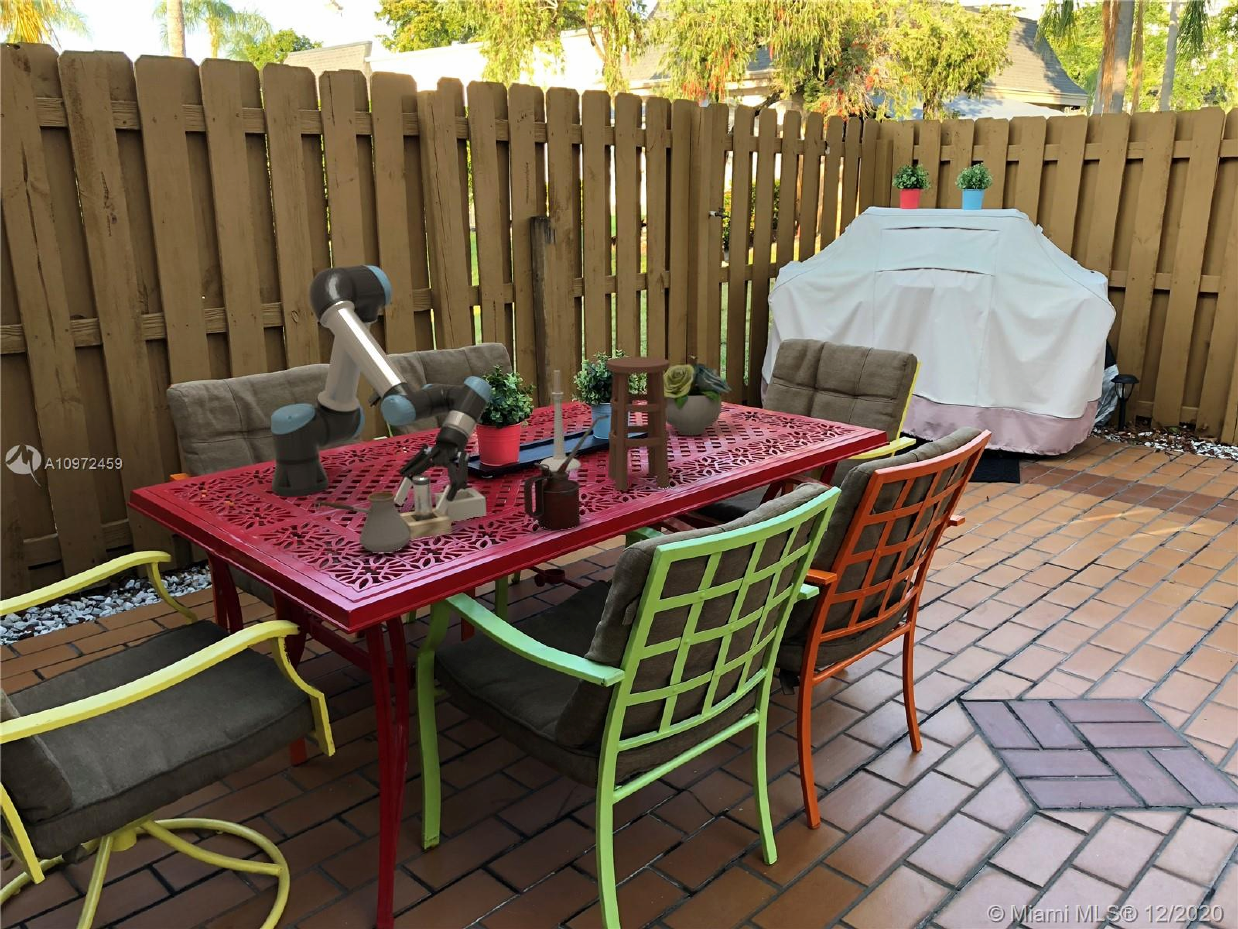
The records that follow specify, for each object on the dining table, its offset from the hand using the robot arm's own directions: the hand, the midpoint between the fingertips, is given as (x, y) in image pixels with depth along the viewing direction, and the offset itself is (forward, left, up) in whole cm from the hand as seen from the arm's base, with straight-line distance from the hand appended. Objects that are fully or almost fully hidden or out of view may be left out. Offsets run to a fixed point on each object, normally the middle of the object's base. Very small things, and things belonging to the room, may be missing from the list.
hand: (418, 507), depth 212 cm
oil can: (+37, -9, -7) cm, 38 cm away
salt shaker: (+2, +1, -7) cm, 7 cm away
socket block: (+2, +1, -7) cm, 7 cm away
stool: (+67, +9, -7) cm, 68 cm away
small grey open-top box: (+14, +9, -7) cm, 18 cm away
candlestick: (+55, +36, -7) cm, 66 cm away
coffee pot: (-14, -6, -7) cm, 17 cm away
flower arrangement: (+112, +50, -7) cm, 123 cm away
